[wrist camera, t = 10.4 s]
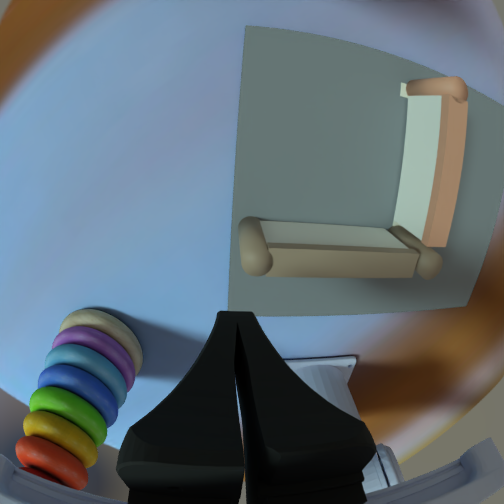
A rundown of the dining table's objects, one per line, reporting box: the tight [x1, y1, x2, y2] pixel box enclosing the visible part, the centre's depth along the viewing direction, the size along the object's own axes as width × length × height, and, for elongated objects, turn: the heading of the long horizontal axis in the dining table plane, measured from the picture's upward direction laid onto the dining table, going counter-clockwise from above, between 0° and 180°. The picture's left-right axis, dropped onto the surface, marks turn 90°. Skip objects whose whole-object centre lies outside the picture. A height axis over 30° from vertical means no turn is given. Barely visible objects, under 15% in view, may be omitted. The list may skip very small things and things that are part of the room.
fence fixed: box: [238, 216, 443, 280], centre depth 18 cm, size 2×12×5 cm, turn 86°
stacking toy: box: [16, 309, 143, 490], centre depth 15 cm, size 8×8×19 cm
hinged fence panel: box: [394, 76, 468, 247], centre depth 16 cm, size 10×2×5 cm, turn 178°
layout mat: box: [228, 25, 504, 316], centre depth 19 cm, size 20×24×1 cm
